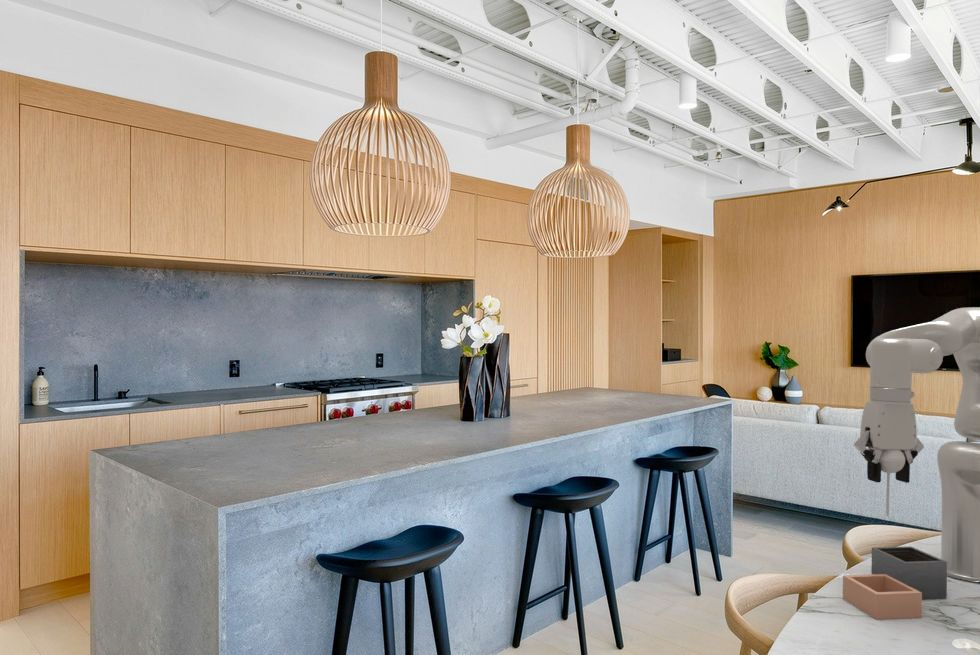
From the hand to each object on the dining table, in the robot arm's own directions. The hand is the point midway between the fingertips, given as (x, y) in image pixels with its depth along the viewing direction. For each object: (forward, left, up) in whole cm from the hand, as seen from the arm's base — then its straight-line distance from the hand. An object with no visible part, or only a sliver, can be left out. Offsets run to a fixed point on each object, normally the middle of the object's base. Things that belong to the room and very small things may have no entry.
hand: (888, 480), depth 136 cm
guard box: (-10, -6, -26) cm, 29 cm away
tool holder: (+3, +2, -26) cm, 26 cm away
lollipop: (0, 0, -8) cm, 8 cm away
